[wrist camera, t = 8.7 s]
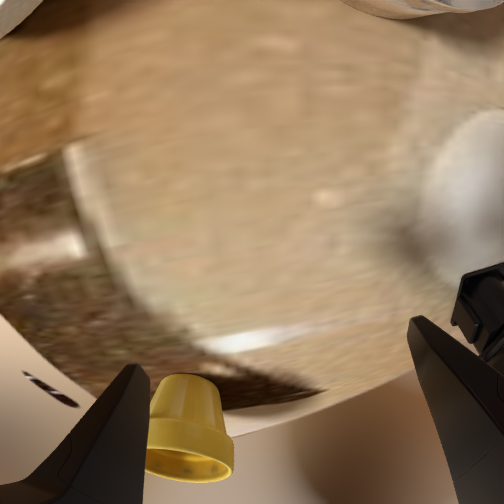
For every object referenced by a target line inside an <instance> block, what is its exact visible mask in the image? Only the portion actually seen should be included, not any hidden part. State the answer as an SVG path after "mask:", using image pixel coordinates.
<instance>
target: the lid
mask: <svg viewBox="0 0 504 504" xmlns="http://www.w3.org/2000/svg"><path fill="white" fill-rule="evenodd" d="M421 1H423V2H426V3H428V4H431V5H434V6H437V7H441V8H445V9H449V10H457V11H474V10H485V9H489V8H494V7H496V6H498V5H500V4H502V3H503V2H504V0H421Z"/></svg>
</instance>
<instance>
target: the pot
mask: <svg viewBox="0 0 504 504" xmlns="http://www.w3.org/2000/svg"><path fill="white" fill-rule="evenodd" d="M340 1H342V2H344V3H345V4H347V5H349V6H351V7H353V8H355V9H358V10H360V11H362V12H365V13H368V14H371V15H374V16H378V17H383V18H388V19H412V18H417V17H422V16H427V15H433V14H438V13H444V12H453V13H459V14H460V13H469V12H474V11H476V10H474V11H457V10H449V9H445V8H441V7H437V6H434V5H431V4H428V3H426V2H423V1H421V0H340Z"/></svg>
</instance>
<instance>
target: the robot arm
mask: <svg viewBox="0 0 504 504" xmlns="http://www.w3.org/2000/svg"><path fill="white" fill-rule="evenodd" d="M450 323H451V324H452V326H457V325H458V326H459V328H460V329H461V331H462V333H463V334H464V336H465V338H466V339H467V341H468V343H470V344H473V345H474V346H475V348H476V350H477V351H478V353H479V356H477V355H476V354H475V353H473V352H472V351H470V350H469V349H468V348H467V347H465V346H464V345H463V344H461V343H460V342H459V341H457V340H456V339H455V338H453V337H452V336H450V335H449V334H448V333H446V332H445V331H444V330H442V329H441V328H440V327H438V326H437V325H435V324H434V323H433V322H431V321H430V320H429V319H427V318H426V317H424V316H422V315H419V316H415V317H412V318H411V319H410V321H409V327H408V332H407V341H408V344H409V348H410V351H411V355H412V358H413V362H414V365H415V369H416V373H417V376H418V380H419V383H420V385H421V388H422V390H423V393H424V396H425V398H426V401H427V404H428V407H429V409H430V412H431V415H432V418H433V420H434V423H435V426H436V429H437V432H438V435H439V438H440V441H441V444H442V447H443V450H444V453H445V456H446V460H447V462H448V466H449V469H450V473H451V476H452V480H453V484H454V487H455V491H456V495H457V499H458V503H459V504H504V263H503V264H500V265H497V266H493V267H490V268H487V269H484V270H480V271H477V272H474V273H470V274H467V275H464V276H463V277H462V279H461V282H460V286H459V291H458V295H457V299H456V303H455V307H454V311H453V314H452V318H451V322H450ZM149 422H150V379H149V376H148V375H147V374H146V372H145V371H144V369H143V368H142V367H141V365H140V364H138V363H130V364H127V365H126V366H125V367H124V368H123V370H122V371H121V372H120V373H119V374H118V375H117V377H116V378H115V379H114V380H113V381H112V382H111V384H110V385H109V386H108V387H107V388H106V390H105V391H104V392H103V393H102V394H101V395H100V397H99V398H98V399H97V400H96V401H95V403H94V404H93V405H92V406H91V407H90V409H89V410H88V411H87V412H86V413H85V415H84V416H83V417H82V418H81V419H80V421H79V422H78V423H77V424H76V425H75V427H74V428H73V429H72V430H71V431H70V433H69V434H68V435H67V436H66V437H65V439H64V440H63V441H62V442H61V443H60V445H59V446H58V447H57V448H56V449H55V450H54V451H53V452H52V453H51V454H50V455H49V457H47V459H45V460H44V461H43V462H42V463H41V464H40V465H39V466H38V467H37V468H36V469H35V471H33V473H31V474H30V475H29V476H28V477H26V478H25V479H23V480H21V481H18V482H14V483H10V484H4V485H0V504H142V503H143V487H144V473H145V462H146V451H147V441H148V432H149Z"/></svg>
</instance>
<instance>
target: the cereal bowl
mask: <svg viewBox="0 0 504 504" xmlns="http://www.w3.org/2000/svg"><path fill="white" fill-rule="evenodd" d="M42 1H43V0H0V39H1V38H3V36H5V35H6V34H7V33H9V32H10V31H11V30H13V29H14V28H15V27H16V26H17V25H18V24H20V23H21V22H22V21H23V20H24V19H25V18H26V17H27V16H28V15H30V14H31V13H32V12H33V10H34V9H36V7H37V6H39V4H40V3H41V2H42Z"/></svg>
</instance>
